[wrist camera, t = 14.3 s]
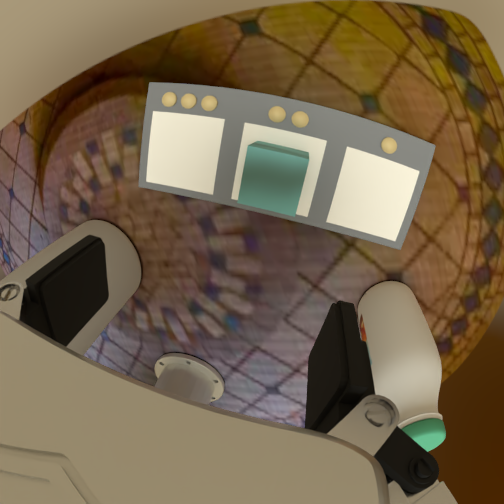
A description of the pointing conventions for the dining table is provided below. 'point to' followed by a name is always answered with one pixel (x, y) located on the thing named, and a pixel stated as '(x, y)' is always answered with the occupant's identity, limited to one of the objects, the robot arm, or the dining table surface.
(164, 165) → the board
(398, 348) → the milk bottle
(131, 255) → the cylinder vase
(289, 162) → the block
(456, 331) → the dining table surface
